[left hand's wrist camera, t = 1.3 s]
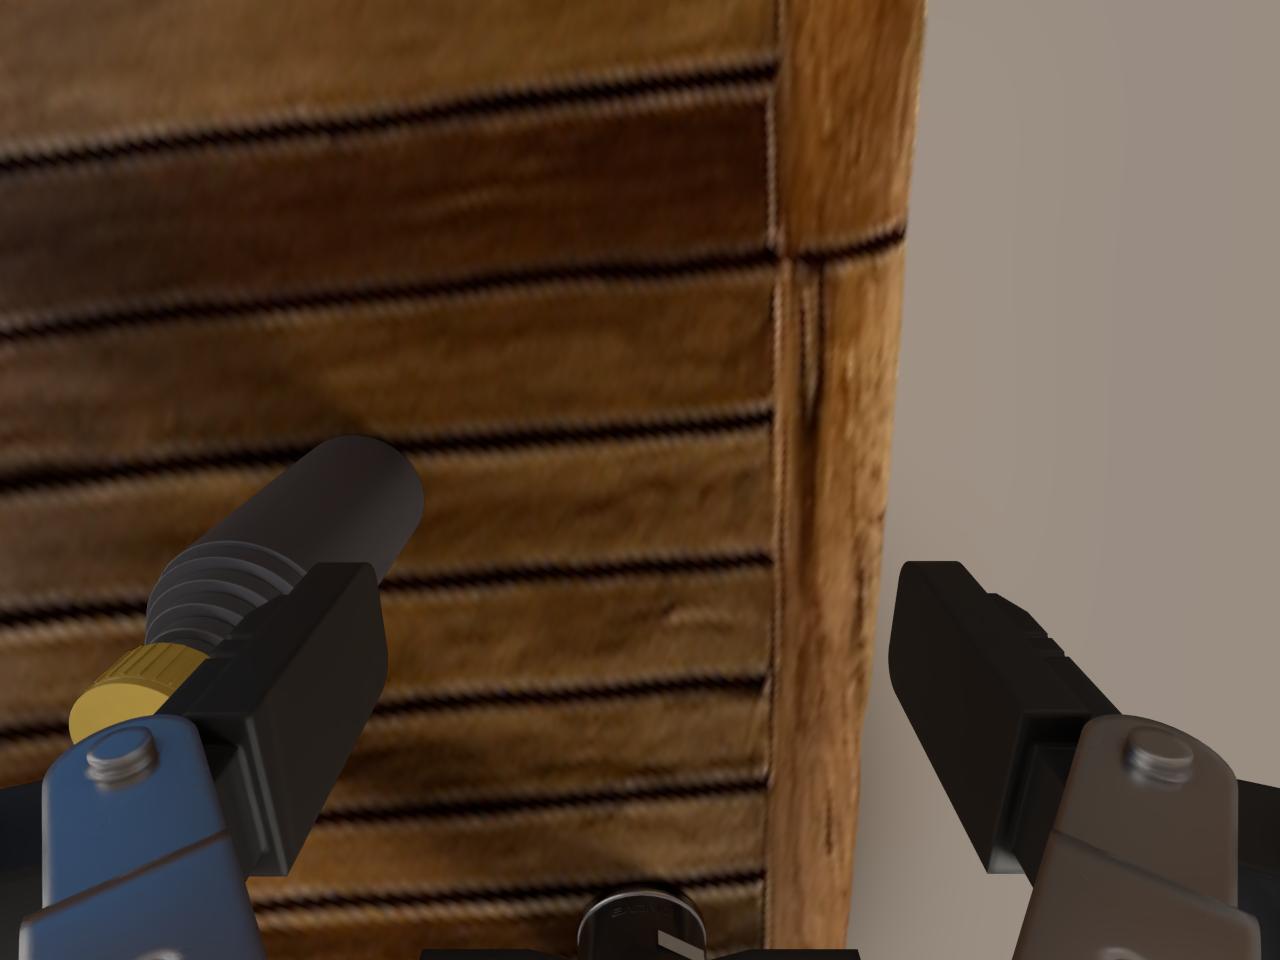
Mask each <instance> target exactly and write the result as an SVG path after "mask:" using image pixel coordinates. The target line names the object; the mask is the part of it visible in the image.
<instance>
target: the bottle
mask: <svg viewBox="0 0 1280 960" xmlns="http://www.w3.org/2000/svg"><path fill="white" fill-rule="evenodd" d="M423 511H424V492H423V487H422V484H421V481H420V478H419V476H418V474H417V472H416V471H415V469H414V467H413V466H412V465H411V463H410V462H409V461H408V460H407V459H406V458H405V457H404V456H403V455H402V454H401V453H400V452H399V451H397V450H396V449H395V448H393V447H392V446H390V445H388V444H386V443H384V442H382V441H380V440H377V439H374V438H371V437H366V436H361V435H344V436H339V437H335V438H332V439H329V440H327V441H325V442H323V443H321V444H319V445H318V446H317V447H315V448H314V449H313V450H311V451H310V452H309V453H308V454H306V455H305V456H304V457H302V458H301V459H300V460H299V461H297V462H296V463H295V464H294V465H292V466H291V467H290V468H288V469H287V470H286V471H285V472H283V473H282V474H281V475H280V476H278V477H277V478H276V479H274V480H273V481H272V482H271V483H269V484H268V485H267V486H266V487H264V488H263V489H262V490H260V491H259V492H258V493H257V494H255V495H254V496H253V497H251V498H250V499H249V500H248V501H246V502H245V503H244V504H243V505H241V506H240V507H239V508H237V509H236V510H235V511H234V512H232V513H231V514H230V515H229V516H227V517H226V518H225V519H223V520H222V521H221V522H220V523H218V524H217V525H216V526H215V527H213V528H212V529H211V530H209V531H208V532H207V533H206V534H204V535H203V536H202V537H201V538H199V539H198V540H197V541H195V542H194V543H193V544H192V545H190V546H189V547H188V548H187V549H185V550H184V551H183V552H181V553H180V554H179V555H178V556H176V557H175V558H174V559H173V560H172V561H171V562H170V563H169V564H168V565H167V567H166V568H165V569H164V571H163V572H162V574H161V576H160V578H159V580H158V583H157V584H156V585H155V587H154V589H153V591H152V593H151V595H150V598H149V602H148V606H147V621H146V637H145V645H149V644H153V643H162V642H164V643H174V644H182V645H186V646H188V647H191V648H193V649H196V650H198V651H201V652H203V653H204V654H207V655H208V656H209V657H210V653H211V652H212V651H213V650H214V649H215V648H216V647H217V646H218V645H219V644H220V642H221V641H222V640H227V635H228V634H229V633H230V632H231V631H232V630H233V629H234V627H235V626H236V625H237V624H238V623H239V622H240V621H241V620H242V619H243V618H244V617H245V616H246V615H247V614H248V613H249V612H251V611H253V610H254V609H256V608H258V607H259V606H261V605H263V604H264V603H266V602H268V601H269V600H271V599H273V598H274V597H276V596H278V595H288V594H289V593H290V592H291V591H292V589H293V588H294V587H295V586H296V585H297V584H298V583H299V581H300V580H301V579H302V578H303V577H304V576H305V575H306V573H307V572H308V571H309V570H310V569H311V568H312V567H313V566H314V565H315V564H316V563H319V562H368V563H370V564H371V565H372V566H373V568H374V570H375V573H376V577H377V583H378V585H379V583H380V582H381V580H382V579H383V577H384V576H385V574H386V573H387V571H388V570H389V568H390V567H391V565H392V564H393V562H394V561H395V559H396V558H397V556H398V555H399V553H400V552H401V550H402V549H403V547H404V546H405V544H406V543H407V541H408V540H409V538H410V537H411V535H412V534H413V532H414V531H415V529H416V528H417V526H418V525H419V523H420V520H421V518H422V515H423Z"/></svg>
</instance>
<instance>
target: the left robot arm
mask: <svg viewBox="0 0 1280 960" xmlns="http://www.w3.org/2000/svg"><path fill="white" fill-rule="evenodd" d="M1047 635H1048V634H1047V633H1046V631H1045V630H1044V629H1043V628H1042V627H1041V626H1040V625H1039V624H1038V623H1037V622H1036V621H1035V620H1034V618H1033V617H1032V616H1031V615H1030V614H1029V613H1028V612H1027V611H1025V610H1023V609H1022V608H1020V607H1018V606H1017V605H1015V604H1013V603H1012V602H1010V601H1008V600H1007V599H1005V598H1003V597H1001V596H1000V595H998V594H996V593H987V592H986V591H985V590H984V589H983V588H982V587H981V586H980V584H979V583H978V582H977V581H976V580H975V579H974V577H973V576H972V575H971V574H970V573H969V572H968V571H967V569H966V568H965V567H964V566H963V565H962V564H961V563H960V562H958V561H907V562H906V563H904V565H903V567H902V569H901V572H900V576H899V582H898V589H897V595H896V602H895V610H894V616H893V623H892V630H891V637H890V644H889V654H888V663H889V672H890V678H891V683H892V686H893V689H894V691H895V694H896V695H897V697H898V699H899V701H900V703H901V705H902V707H903V709H904V711H905V713H906V715H907V717H908V719H909V721H910V723H911V725H912V727H913V729H914V731H915V733H916V735H917V737H918V739H919V741H920V742H921V744H922V746H923V748H924V750H925V752H926V754H927V756H928V758H929V760H930V762H931V764H932V766H933V768H934V770H935V772H936V774H937V776H938V778H939V780H940V782H941V784H942V786H943V788H944V789H945V791H946V793H947V795H948V797H949V799H950V801H951V803H952V805H953V807H954V809H955V811H956V813H957V815H958V817H959V819H960V821H961V823H962V825H963V827H964V829H965V831H966V833H967V834H968V837H969V838H970V840H971V842H972V844H973V846H974V848H975V850H976V852H977V854H978V856H979V858H980V860H981V862H982V864H983V866H984V868H985V870H986V872H987V873H988V874H1026V876H1027V878H1028V880H1029V881H1030V883H1031V885H1032V887H1033V891H1032V894H1031V898H1030V901H1029V904H1028V908H1027V911H1026V914H1025V918H1024V921H1023V924H1022V928H1021V931H1020V935H1019V938H1018V941H1017V945H1016V948H1015V951H1014V955H1013V958H1012V960H1280V788H1276V787H1272V786H1267V785H1262V784H1258V783H1253V782H1248V781H1243V780H1238V779H1236V777H1235V775H1234V773H1233V771H1232V769H1231V768H1230V767H1229V765H1228V764H1227V763H1226V762H1225V761H1224V760H1223V759H1222V758H1221V757H1220V756H1219V755H1218V754H1217V753H1216V752H1214V751H1213V750H1212V749H1211V748H1210V747H1208V746H1207V745H1205V744H1204V743H1202V742H1201V741H1199V740H1198V739H1196V738H1194V737H1192V736H1190V735H1189V734H1187V733H1185V732H1183V731H1181V730H1178V729H1176V728H1174V727H1172V726H1169V725H1166V724H1164V723H1161V722H1158V721H1154V720H1151V719H1147V718H1142V717H1138V716H1131V715H1122V714H1121V713H1120V711H1119V710H1118V709H1117V708H1116V707H1115V706H1114V705H1113V704H1112V703H1111V702H1110V701H1109V700H1108V698H1107V697H1106V696H1105V695H1104V694H1103V693H1102V692H1101V691H1100V690H1099V689H1098V688H1097V687H1096V685H1095V684H1094V683H1093V682H1092V681H1091V680H1090V679H1089V678H1088V677H1087V676H1086V675H1085V674H1084V673H1083V671H1082V670H1081V669H1080V668H1079V667H1078V666H1077V665H1076V664H1075V663H1074V662H1073V661H1072V660H1071V658H1070V657H1065V655H1064V651H1063V650H1062V649H1061V648H1060V647H1059V646H1058V644H1057V643H1056V642H1055V641H1054V640H1053V639H1052V638H1048V636H1047ZM387 667H388V652H387V644H386V637H385V630H384V623H383V617H382V610H381V603H380V596H379V589H378V583H377V577H376V573H375V570H374V568H373V566H372V565H371V564H370V563H368V562H319V563H316V564H315V565H314V566H313V567H312V568H311V569H310V570H309V571H308V572H307V573H306V575H305V576H304V577H303V578H302V579H301V580H300V581H299V583H298V584H297V585H296V586H295V587H294V588H293V589H292V591H291V592H290V593H289V594H288V595H278V596H276V597H274V598H273V599H271V600H269V601H268V602H266V603H264V604H263V605H261V606H259V607H258V608H256V609H254V610H253V611H251V612H249V613H248V614H247V615H246V616H245V617H244V618H243V619H242V620H241V621H240V622H239V623H238V624H237V625H236V626H235V627H234V629H233V630H232V631H231V632H230V633H229V634H228V635H227V640H222V641H221V642H220V644H219V645H218V646H217V647H216V648H215V649H214V650H213V651H212V652H211V653H210V658H206V659H205V660H204V661H203V662H202V663H201V664H200V665H199V666H198V667H197V668H196V669H195V670H194V671H193V672H192V674H191V675H190V676H189V677H188V678H187V679H186V680H185V681H184V682H183V683H182V684H181V685H180V686H179V687H178V689H177V690H176V691H175V692H174V693H173V694H172V695H171V696H170V697H169V698H168V699H167V700H166V701H165V702H164V704H163V705H162V706H161V707H160V708H159V709H158V710H157V711H156V712H155V713H154V714H153V715H149V716H142V717H137V718H133V719H129V720H126V721H122V722H119V723H116V724H114V725H111V726H108V727H106V728H104V729H102V730H99V731H97V732H95V733H93V734H91V735H89V736H88V737H86V738H84V739H82V740H81V741H79V742H78V743H76V744H75V745H73V746H72V747H70V748H69V749H68V750H67V751H65V752H64V753H63V754H62V755H61V756H60V757H59V758H58V759H57V760H56V761H55V762H54V763H53V764H52V765H51V767H50V768H49V769H48V771H47V773H46V775H45V777H44V779H43V780H41V781H37V782H32V783H28V784H23V785H18V786H14V787H9V788H4V789H0V960H268V958H267V955H266V951H265V948H264V945H263V941H262V938H261V934H260V931H259V928H258V924H257V921H256V918H255V914H254V911H253V908H252V904H251V901H250V898H249V894H248V891H247V888H246V884H245V882H246V880H247V879H248V877H249V876H287V875H288V873H289V871H290V869H291V867H292V865H293V864H294V862H295V860H296V858H297V856H298V854H299V852H300V850H301V848H302V846H303V844H304V842H305V840H306V838H307V836H308V835H309V833H310V831H311V829H312V827H313V825H314V823H315V821H316V819H317V817H318V815H319V813H320V811H321V809H322V807H323V805H324V804H325V802H326V800H327V798H328V796H329V794H330V792H331V790H332V788H333V786H334V784H335V782H336V780H337V778H338V776H339V775H340V773H341V771H342V769H343V767H344V765H345V763H346V761H347V759H348V757H349V755H350V753H351V751H352V749H353V747H354V745H355V744H356V742H357V740H358V738H359V736H360V734H361V732H362V730H363V728H364V726H365V724H366V722H367V720H368V718H369V716H370V715H371V713H372V711H373V709H374V707H375V705H376V703H377V701H378V699H379V697H380V695H381V693H382V691H383V688H384V685H385V681H386V676H387ZM705 946H706V932H705V923H704V919H703V916H702V914H701V912H700V911H699V909H698V908H697V906H696V905H695V904H694V903H693V902H692V901H691V900H689V899H688V898H687V897H685V896H684V895H682V894H680V893H679V892H676V891H674V890H672V889H669V888H666V887H662V886H657V885H650V884H634V885H627V886H622V887H618V888H615V889H612V890H609V891H607V892H605V893H603V894H601V895H600V896H598V897H597V898H595V899H594V900H593V901H592V902H591V903H590V904H589V905H588V906H587V907H586V909H585V910H584V912H583V913H582V916H581V918H580V921H579V927H578V956H577V960H707V959H706V947H705ZM419 960H567V959H564V958H560V957H556V956H552V955H549V954H545V953H541V952H537V951H534V950H530V949H422V952H421V956H420V959H419ZM713 960H861V959H860V956H859V952H858V950H857V949H750V950H746V951H743V952H739V953H735V954H731V955H728V956H724V957H720V958H716V959H713Z"/></svg>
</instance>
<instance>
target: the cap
mask: <svg viewBox="0 0 1280 960" xmlns="http://www.w3.org/2000/svg"><path fill="white" fill-rule="evenodd" d="M206 658H210V657H209V656H208V655H207V654H204V653H203V652H201V651H198V650H196V649H193V648H191V647H188V646H186V645H182V644H174V643H164V642H162V643H153V644H149V645H145V646H142V645H141V646H139V647H138V648H137V649H135V650H133V651H132V652H131V651H129V652H127V653H126V654H125V655H124V656H123V657H122V658H120V659H119V660H118V661H117V662H116V663H115V664H114V665H113V666H112V667H110V668H109V669H108V670H107V671H106V672H105V673H104V674H103V675H101V676H100V677H99V678H98V679H97V680H96V681H95V682H94V683H93V684H91V685H90V686H89V687H88V688H87V689H86V690H85V691H86V692H85V693H84V694H83V695H82V696H81V697H80V698H79V699H78V700H77V701H76V703H75V704H74V706H73V708H72V710H71V714H70V717H69V729H70V734H71V738H72V740H73V743H74V745H75V744H76V743H78V742H79V741H81V740H82V739H84V738H86V737H88V736H89V735H91V734H93V733H95V732H97V731H99V730H102V729H104V728H106V727H108V726H111V725H114V724H116V723H119V722H122V721H126V720H129V719H133V718H137V717H142V716H149V715H153V714H154V713H155V712H156V711H157V710H158V709H159V708H160V707H161V706H162V705H163V704H164V702H165V701H166V700H167V699H168V698H169V697H170V696H171V695H172V694H173V693H174V692H175V691H176V690H177V689H178V687H179V686H180V685H181V684H182V683H183V682H184V681H185V680H186V679H187V678H188V677H189V676H190V675H191V674H192V672H193V671H194V670H195V669H196V668H197V667H198V666H199V665H200V664H201V663H202V662H203V661H204V660H205V659H206Z"/></svg>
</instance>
